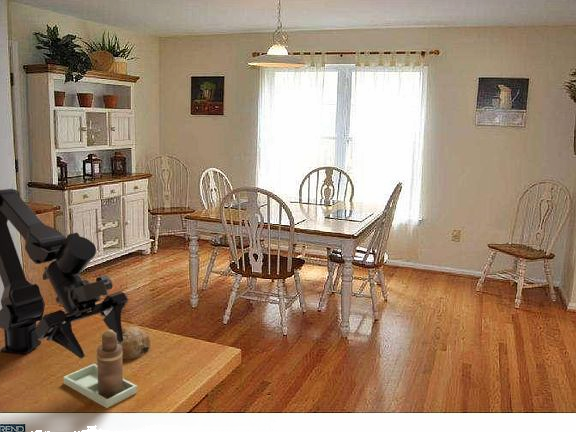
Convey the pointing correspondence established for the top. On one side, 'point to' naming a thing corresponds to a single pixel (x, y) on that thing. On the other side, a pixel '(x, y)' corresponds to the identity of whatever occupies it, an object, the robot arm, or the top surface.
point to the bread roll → (134, 342)
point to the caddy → (96, 386)
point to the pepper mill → (109, 365)
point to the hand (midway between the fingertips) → (103, 349)
